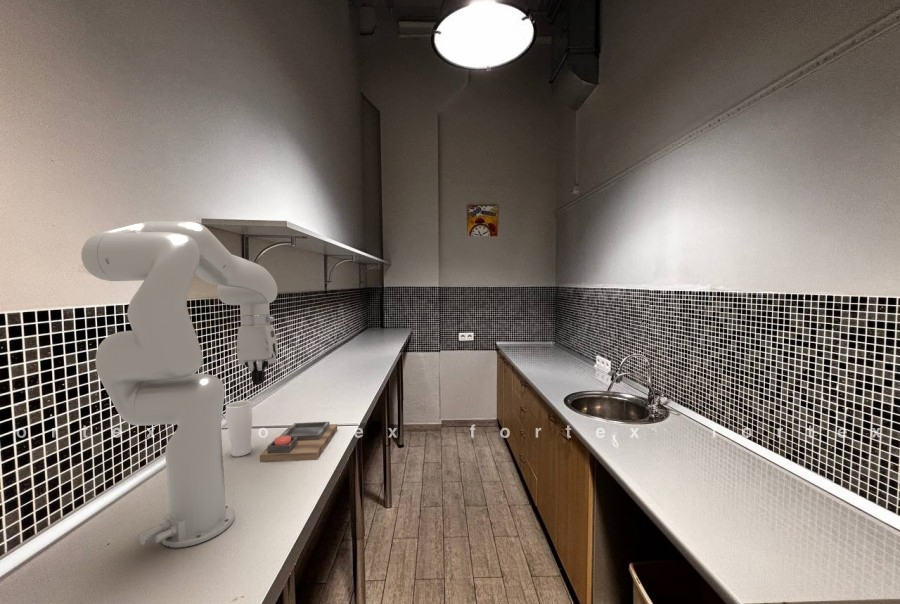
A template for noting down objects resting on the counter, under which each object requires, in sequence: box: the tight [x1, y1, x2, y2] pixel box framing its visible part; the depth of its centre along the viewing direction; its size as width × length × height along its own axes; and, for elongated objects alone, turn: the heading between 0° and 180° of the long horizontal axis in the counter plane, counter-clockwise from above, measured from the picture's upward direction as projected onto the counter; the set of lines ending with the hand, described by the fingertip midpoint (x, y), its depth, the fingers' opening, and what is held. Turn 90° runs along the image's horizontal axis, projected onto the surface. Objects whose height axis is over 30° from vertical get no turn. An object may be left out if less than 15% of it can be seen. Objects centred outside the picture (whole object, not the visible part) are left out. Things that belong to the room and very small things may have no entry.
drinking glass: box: [225, 400, 253, 458], centre depth 112 cm, size 7×7×15 cm
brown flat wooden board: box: [258, 421, 338, 463], centre depth 117 cm, size 22×16×4 cm
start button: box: [273, 435, 291, 446], centre depth 110 cm, size 4×4×2 cm
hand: (258, 383), depth 110 cm, fingers closed
